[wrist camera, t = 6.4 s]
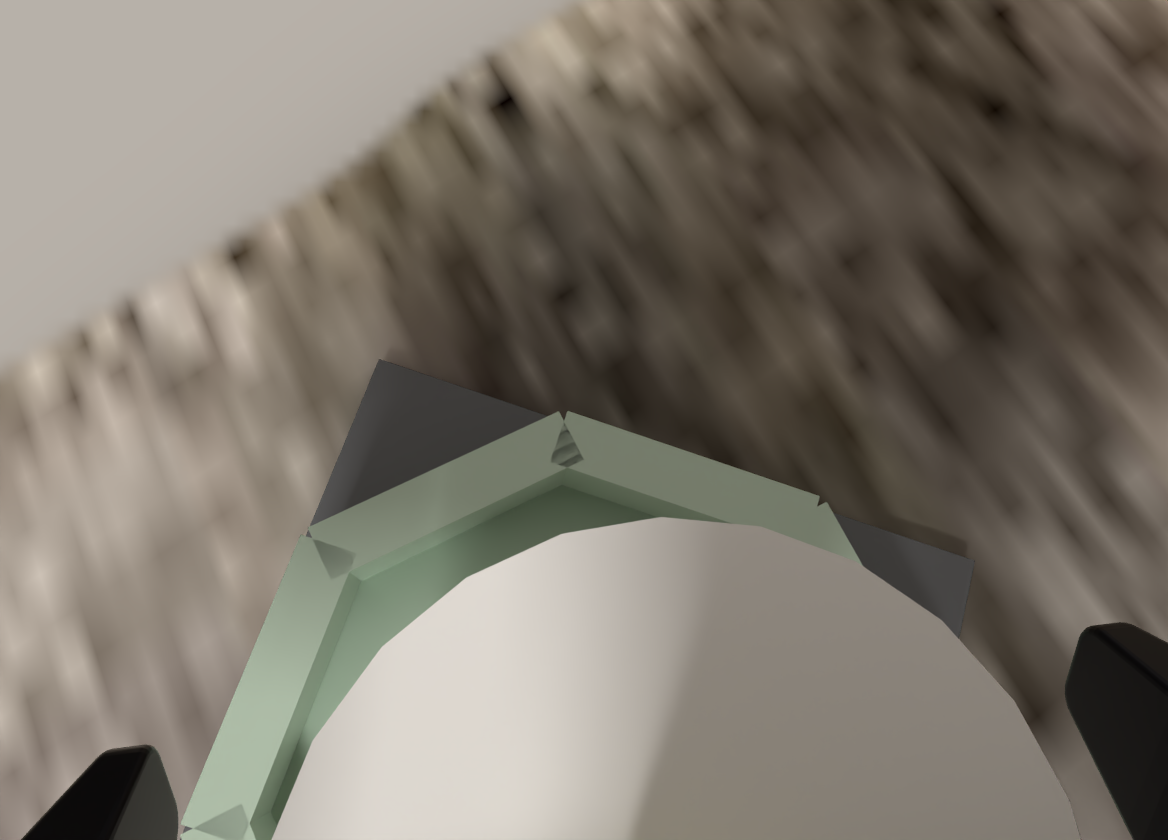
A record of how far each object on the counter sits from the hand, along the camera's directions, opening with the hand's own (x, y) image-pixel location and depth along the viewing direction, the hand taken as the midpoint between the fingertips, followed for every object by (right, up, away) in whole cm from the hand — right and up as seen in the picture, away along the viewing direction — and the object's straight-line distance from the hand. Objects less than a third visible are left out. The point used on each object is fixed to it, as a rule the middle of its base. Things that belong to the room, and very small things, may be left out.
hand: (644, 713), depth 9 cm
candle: (-1, -4, +8) cm, 9 cm away
